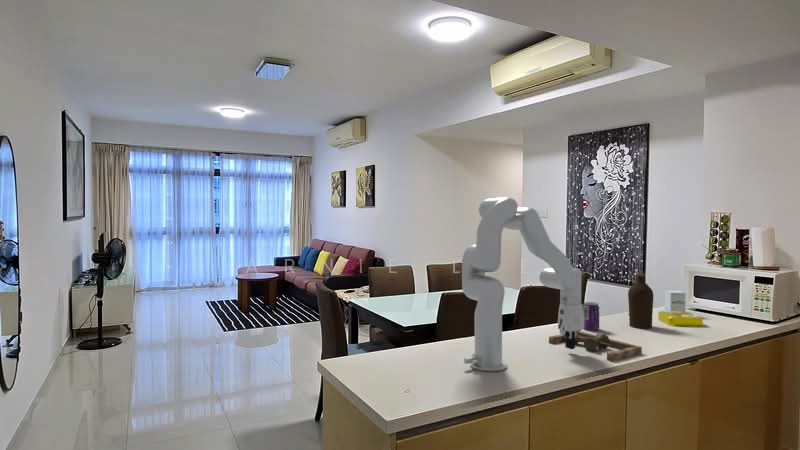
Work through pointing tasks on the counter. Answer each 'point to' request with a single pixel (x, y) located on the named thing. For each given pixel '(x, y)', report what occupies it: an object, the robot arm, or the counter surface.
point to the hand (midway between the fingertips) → (570, 348)
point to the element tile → (680, 319)
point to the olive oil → (640, 304)
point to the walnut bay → (624, 351)
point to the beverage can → (591, 316)
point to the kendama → (593, 341)
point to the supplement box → (674, 301)
